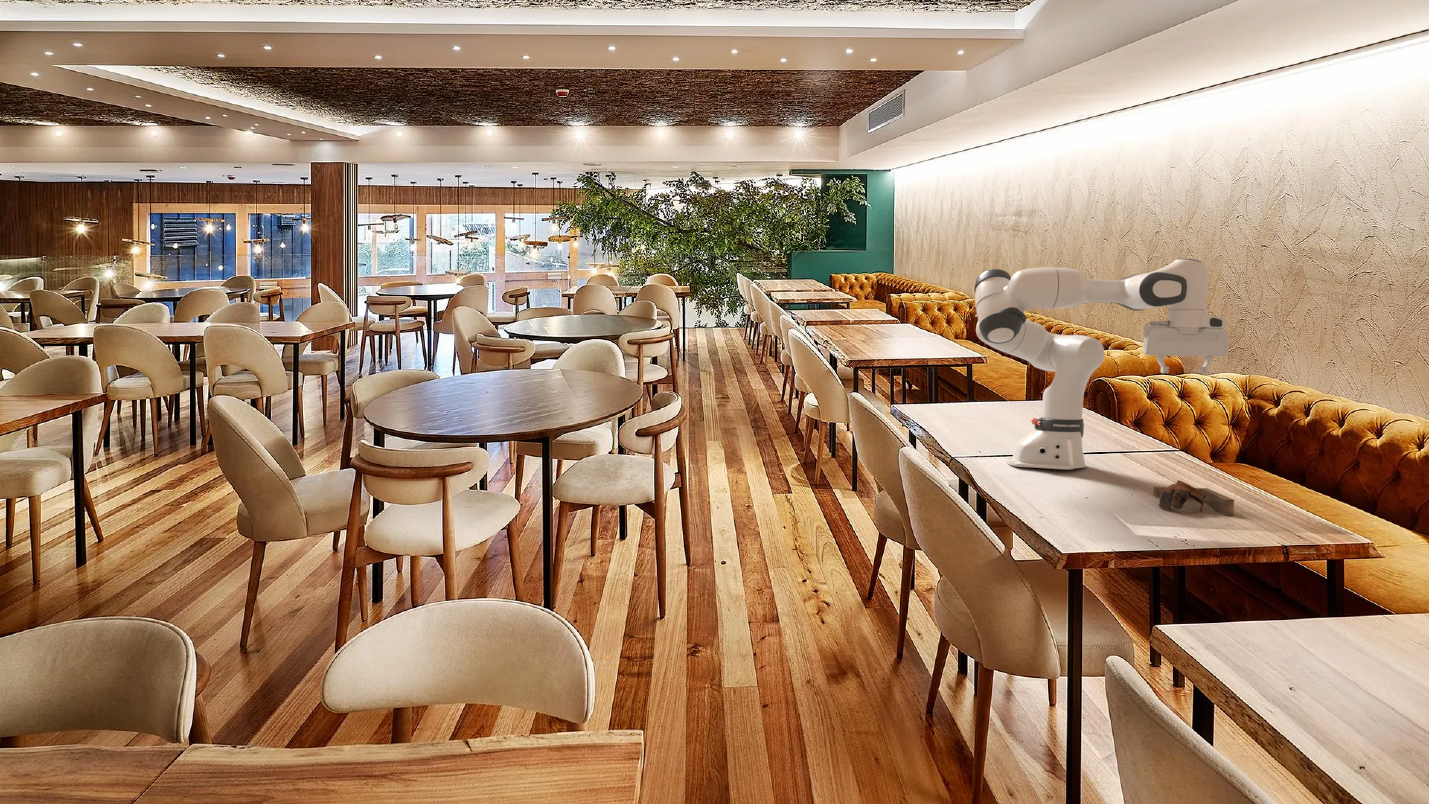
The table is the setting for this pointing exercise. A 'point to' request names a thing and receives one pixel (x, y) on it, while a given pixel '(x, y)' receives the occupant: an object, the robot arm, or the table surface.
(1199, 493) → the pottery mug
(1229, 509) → the dock
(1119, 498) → the table surface
